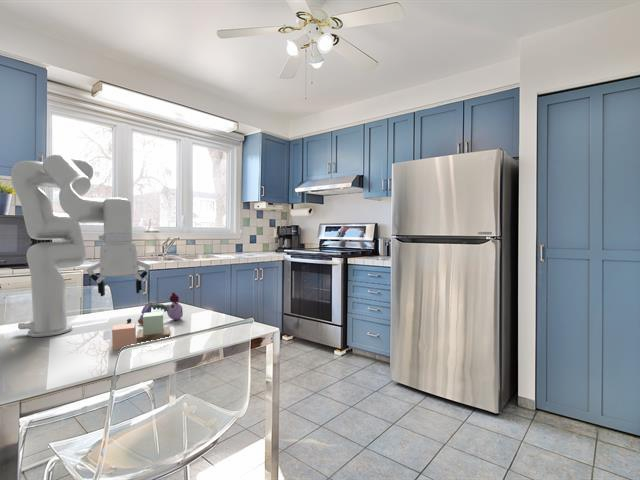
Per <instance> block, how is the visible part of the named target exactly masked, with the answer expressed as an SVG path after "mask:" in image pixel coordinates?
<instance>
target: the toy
mask: <svg viewBox="0 0 640 480" xmlns="http://www.w3.org/2000/svg"><path fill="white" fill-rule="evenodd" d="M179 299H180V297H179V295H178V294H176V293H175V291H174V292H172V293H171V295H170V297H169V299H168V300H169V301H170V302H171V304H164V303H153V302H149V303H148V304H145V305H144V306H143V307H142V310H141V315H140V316H139V318H138V319H137V323H138V324H139V325H142V326H143V315H144V313H150V312H152V309H153V310H158V311H159V310H160V311H163V313H165V312H166V314H167V316H168V318H170V319H171V320H174V321H178V320H181V319H182V318H183V313H184V311H183V305H181V303H179V301H180V300H179Z"/></svg>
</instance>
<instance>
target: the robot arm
mask: <svg viewBox="0 0 640 480" xmlns="http://www.w3.org/2000/svg"><path fill="white" fill-rule="evenodd" d="M93 176H94V168H93V165H92V164H91V163H90V162H89V161H88V160H86V159H85V158H81V157H75V156H68V155H63V154H51V155H49V156H47V157H44V159H43V161H38V160H21V161H18V162H16V163H15V164H14V165H13V166H12V169H11V173H10V180H11V185H12V188H13V190H14V192H15V194H16V195H17V198H18V201H20V206H21V210H22V214H23V215H22V216H23V220H24V224H25V229H26V232H27V235H28V236H29V237H30V238H31V239H33V240H36V241H37V240H41V241H42V240H45V241H46V240H47V241H48V240H61V241H53V242H52V241H50V242H39V243H35V244H33V245H31V246H30V247H29V248H27V251H26V261H27V265H28V268H29V274H30V283H31V284H30V285H31V286H30V287H31V304H32V308H31V310H32V320H31V321H29V322H18V326H17V328H18V330H26V329H27V330H28V331H27V336H28V337H32V338H33V337H34V338H40V337H42V338H43V337H50V336H56V335H61V334H65V333H68V332H69V331H71V330H72V329H73V326H72V325H71V324H69V323H68V321H67V296H66V294H67V293H66V280H65V278H64V277H63V275H62V274H61V272H60V271H59V269H60V270H61V269H68V268H75V267H80V266H81V265H83V264H84V262H85V261H86V258H87V257H86V255H87V254H86V247H85V243H84V238H83V234H82V229H81V225H80V223H82V224H86V223H87V224H88V223H89V224H92V223H94V224H95V223H96V224H103V234H101V235H98V240H100V241H103V242H104V243H101V244H100V250H99V262H98V263H96V264H94V265H92V266H90V267H88V268H87V269H86V272H87V274H88V275H89V277H90V278H91V279H92V280H94V281H95V282H96V283H97V292H98V294H100V297H104V296H105V295H106V288H105V287H106V286H105V284H106V283H105V281H104V280H105V279H106V278H108V277H109V278H110V277H125V276H133V277H135V279H136V280H135V290H136V292H135V293H136V294H140V291H142V289H143V288H142V287H143V283H142V282H143V281H142V280H143V279H144V278H145V277H146V276H147V275H148V273H149V271H150V269H151V268H152V267H151V266H152V265H150V264H148V263H146V262H143V261H141V260H139V257H138V252H137V246H136V243H135V242H133V223H132V203H131V201H130V200H129V199H127V198H124V197H123V198H122V197H109V198H90V197H82V196H85V195H86V194H87V193H88V192H89V190H90V188H91V186H92V184H91V180H92V179H93ZM40 187H46V188H47V187H48V188H57V189H58V188H59V189H60V190H59V194H58V200H59V201H58V202H59V205H60V207H61V209H62V211H64V213H63V212H62V213H60V212H59V213H57V212H55V211H54V209H53V204H52V201H51V198H49V196H48V195H47V194H46V193H45V192H44V191H43V190H42V189H41V188H40ZM139 267H142V268H144V270H143V272H142V273H141V274H140V273H139V272H138V271H139ZM97 269H99V274H100V276H99V275H97V274H96V273H95V270H97Z"/></svg>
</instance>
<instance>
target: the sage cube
mask: <svg viewBox="0 0 640 480" xmlns="http://www.w3.org/2000/svg"><path fill="white" fill-rule="evenodd" d="M163 327H164V310H161V311H153V312H152V311H151V312H150V313H144V315H143V324H142V329H143V335H150V334H159V333H163Z"/></svg>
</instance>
